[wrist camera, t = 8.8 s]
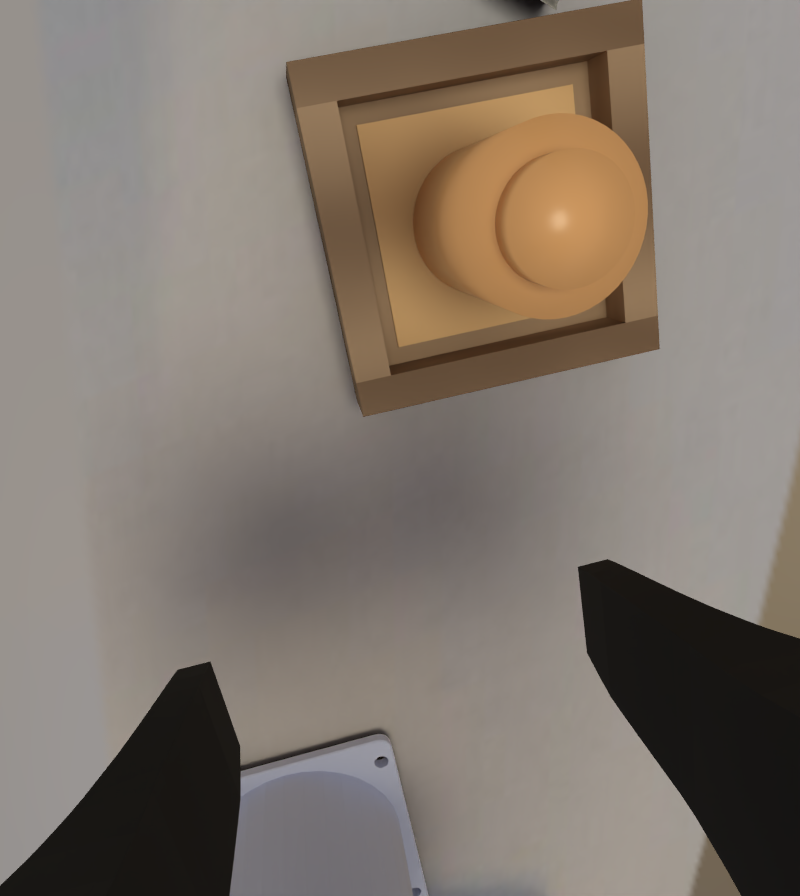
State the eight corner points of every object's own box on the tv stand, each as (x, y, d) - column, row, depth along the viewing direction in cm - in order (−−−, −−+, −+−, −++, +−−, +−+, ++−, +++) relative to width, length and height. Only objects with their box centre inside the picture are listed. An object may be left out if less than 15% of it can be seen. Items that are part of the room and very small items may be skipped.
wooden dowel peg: (557, 278, 20) (673, 301, 14) (426, 306, 19) (488, 344, 13) (542, 130, 18) (663, 87, 12) (400, 159, 18) (456, 128, 12)
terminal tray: (630, 338, 21) (659, 348, 20) (357, 400, 21) (363, 417, 19) (609, 18, 18) (641, -2, 17) (286, 77, 17) (286, 62, 16)
